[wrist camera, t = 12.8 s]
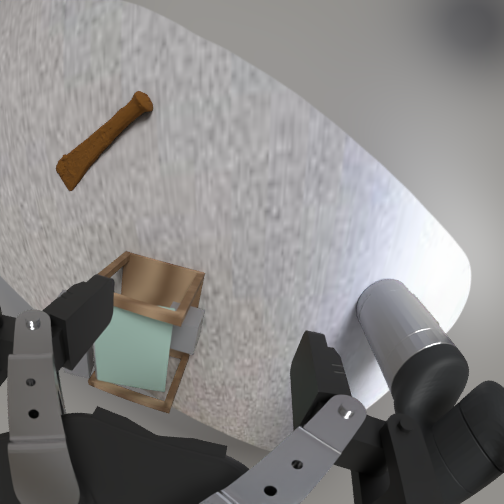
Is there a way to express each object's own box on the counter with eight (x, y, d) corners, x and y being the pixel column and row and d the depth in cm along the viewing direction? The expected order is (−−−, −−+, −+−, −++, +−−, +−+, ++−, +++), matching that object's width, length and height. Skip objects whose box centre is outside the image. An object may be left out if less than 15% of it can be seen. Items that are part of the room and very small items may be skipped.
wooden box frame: (204, 272, 44) (181, 319, 32) (188, 358, 49) (168, 413, 37) (126, 251, 44) (81, 287, 31) (121, 337, 49) (88, 384, 37)
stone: (173, 301, 45) (204, 310, 45) (169, 327, 47) (199, 336, 47) (163, 317, 40) (198, 327, 41) (160, 345, 42) (193, 354, 42)
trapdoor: (175, 304, 36) (174, 317, 34) (165, 382, 41) (164, 396, 38) (62, 282, 33) (54, 294, 30) (70, 363, 37) (64, 376, 35)
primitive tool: (71, 192, 41) (58, 195, 38) (55, 166, 40) (42, 168, 37) (159, 109, 37) (150, 105, 34) (140, 82, 36) (129, 77, 33)
